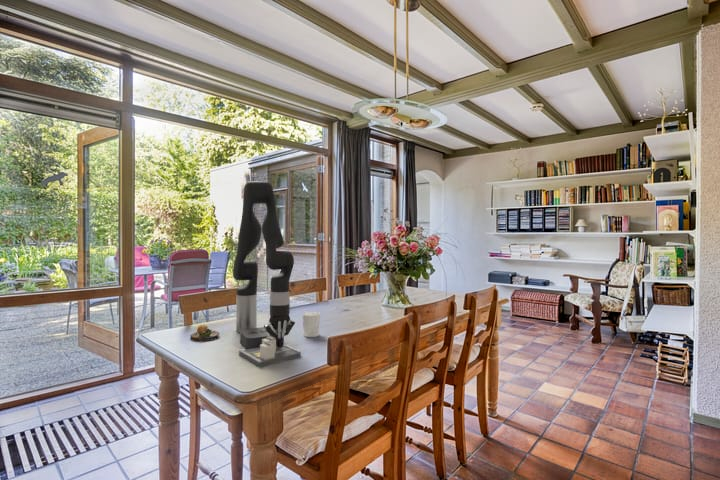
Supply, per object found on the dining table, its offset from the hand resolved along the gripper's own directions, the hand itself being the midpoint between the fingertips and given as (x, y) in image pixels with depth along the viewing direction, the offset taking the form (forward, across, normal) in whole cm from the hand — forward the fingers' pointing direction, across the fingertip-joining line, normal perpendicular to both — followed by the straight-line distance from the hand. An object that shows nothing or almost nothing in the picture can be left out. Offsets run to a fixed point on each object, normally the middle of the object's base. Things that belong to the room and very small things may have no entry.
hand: (279, 347), depth 145 cm
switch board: (+2, +4, 0) cm, 5 cm away
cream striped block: (+1, +8, +5) cm, 10 cm away
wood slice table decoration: (+3, +14, -40) cm, 43 cm away
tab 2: (+1, +5, 0) cm, 5 cm away
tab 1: (+1, -1, -6) cm, 6 cm away
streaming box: (+3, 0, -16) cm, 17 cm away
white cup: (+3, -24, -13) cm, 27 cm away
